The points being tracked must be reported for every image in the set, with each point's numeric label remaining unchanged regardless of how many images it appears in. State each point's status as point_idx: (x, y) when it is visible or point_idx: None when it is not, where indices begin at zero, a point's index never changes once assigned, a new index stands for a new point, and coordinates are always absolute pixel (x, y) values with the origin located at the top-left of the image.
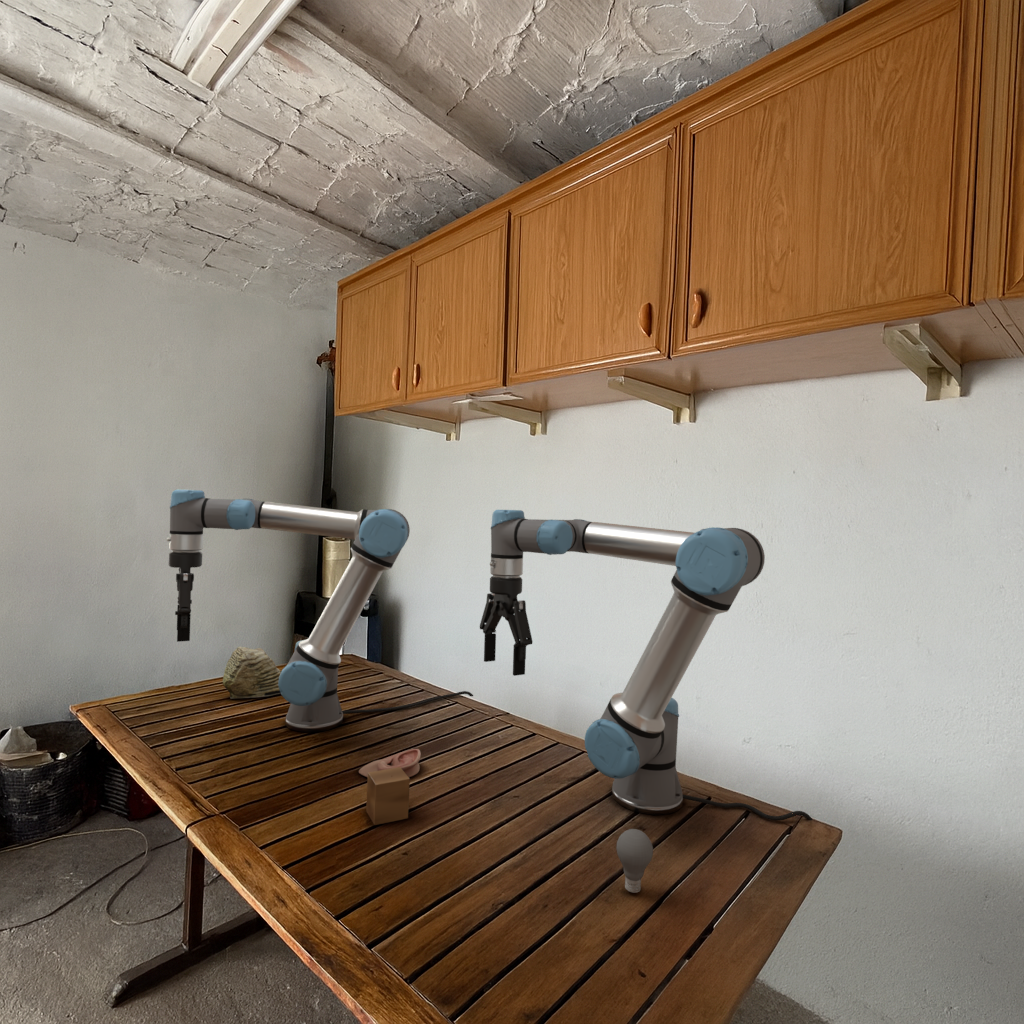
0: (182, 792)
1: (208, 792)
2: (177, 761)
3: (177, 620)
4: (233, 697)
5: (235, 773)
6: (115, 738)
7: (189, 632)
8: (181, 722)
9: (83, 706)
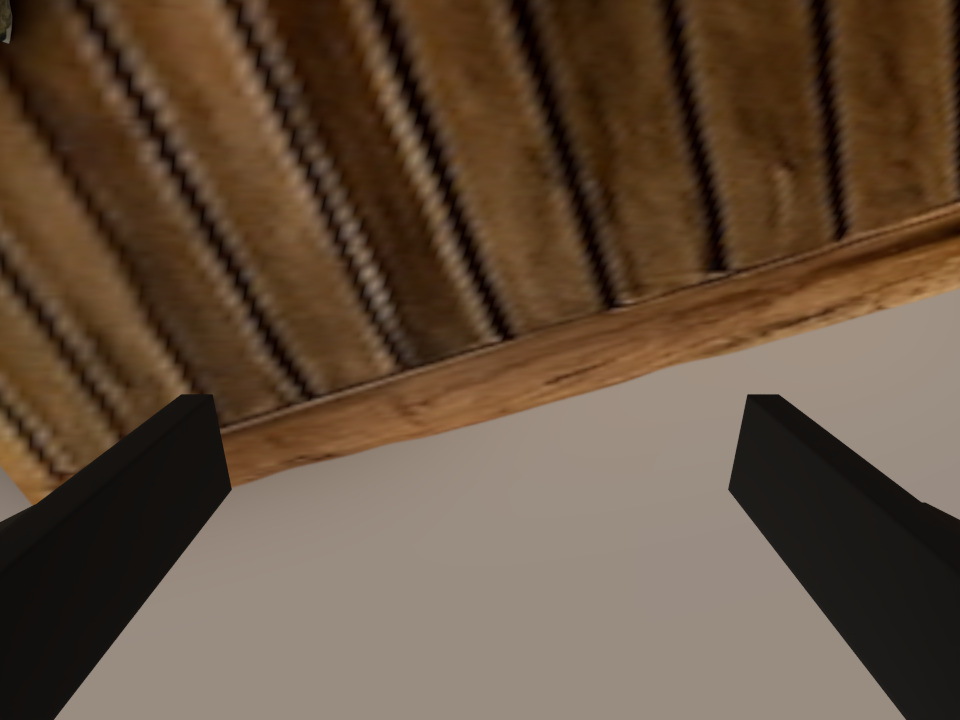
0: (891, 256)
1: (939, 187)
2: (656, 267)
3: (178, 557)
4: (8, 25)
5: (854, 94)
6: (390, 430)
7: (830, 440)
8: (290, 252)
9: None
